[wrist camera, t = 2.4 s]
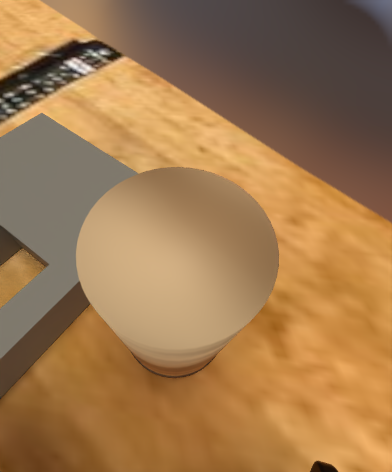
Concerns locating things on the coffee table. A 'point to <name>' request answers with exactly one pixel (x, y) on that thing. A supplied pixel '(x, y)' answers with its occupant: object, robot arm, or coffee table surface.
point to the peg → (177, 265)
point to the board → (46, 232)
